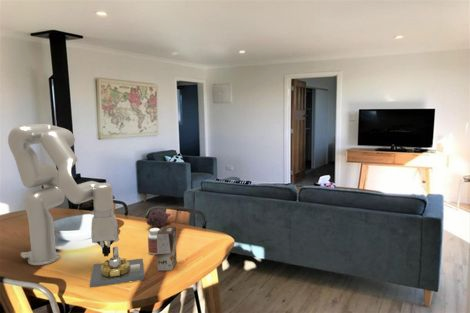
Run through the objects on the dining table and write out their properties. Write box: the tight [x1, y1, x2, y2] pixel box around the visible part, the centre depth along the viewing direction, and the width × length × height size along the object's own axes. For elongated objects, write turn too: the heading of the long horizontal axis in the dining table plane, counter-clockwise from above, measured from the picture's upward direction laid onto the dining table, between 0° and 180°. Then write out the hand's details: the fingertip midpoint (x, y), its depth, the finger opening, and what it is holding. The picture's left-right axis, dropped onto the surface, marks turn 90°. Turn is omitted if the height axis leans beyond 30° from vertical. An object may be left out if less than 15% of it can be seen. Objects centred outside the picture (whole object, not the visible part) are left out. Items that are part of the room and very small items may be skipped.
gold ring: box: [101, 246, 129, 277], centre depth 147 cm, size 15×11×6 cm
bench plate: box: [89, 256, 146, 288], centre depth 146 cm, size 20×16×7 cm
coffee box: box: [156, 226, 178, 271], centre depth 153 cm, size 9×6×16 cm
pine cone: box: [146, 208, 171, 227], centre depth 203 cm, size 18×10×10 cm, turn 150°
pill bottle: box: [147, 227, 161, 255], centre depth 168 cm, size 6×6×11 cm
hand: (106, 255), depth 152 cm, fingers closed
